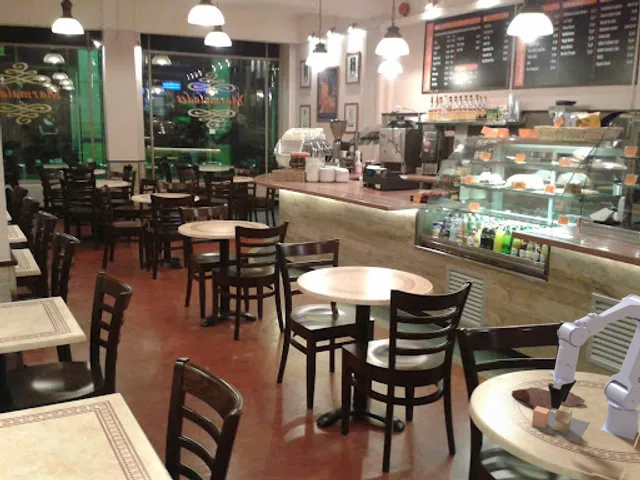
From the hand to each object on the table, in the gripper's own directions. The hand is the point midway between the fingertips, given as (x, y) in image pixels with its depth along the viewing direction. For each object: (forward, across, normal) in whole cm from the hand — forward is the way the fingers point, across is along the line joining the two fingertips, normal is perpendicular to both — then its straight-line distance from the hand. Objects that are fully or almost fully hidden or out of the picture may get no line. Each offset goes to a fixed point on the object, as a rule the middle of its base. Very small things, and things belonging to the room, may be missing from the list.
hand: (558, 404), depth 191 cm
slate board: (+10, -10, 0) cm, 14 cm away
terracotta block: (+10, -5, -5) cm, 13 cm away
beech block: (+10, -6, +1) cm, 12 cm away
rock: (+11, -26, -8) cm, 30 cm away
